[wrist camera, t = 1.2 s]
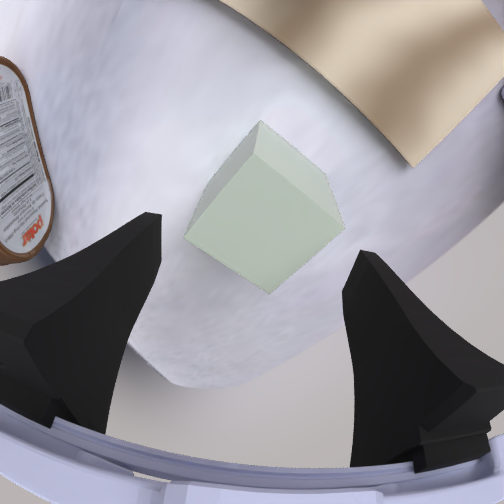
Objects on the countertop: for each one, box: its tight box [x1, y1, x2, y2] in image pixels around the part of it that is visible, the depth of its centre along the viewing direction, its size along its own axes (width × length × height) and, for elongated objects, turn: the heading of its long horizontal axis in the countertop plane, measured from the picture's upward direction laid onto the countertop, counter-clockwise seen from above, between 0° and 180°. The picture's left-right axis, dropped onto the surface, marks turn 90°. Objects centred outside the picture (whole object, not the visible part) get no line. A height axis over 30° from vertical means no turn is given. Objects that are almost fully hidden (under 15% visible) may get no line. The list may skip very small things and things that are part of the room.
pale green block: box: [183, 120, 345, 294], centre depth 17 cm, size 5×5×7 cm
